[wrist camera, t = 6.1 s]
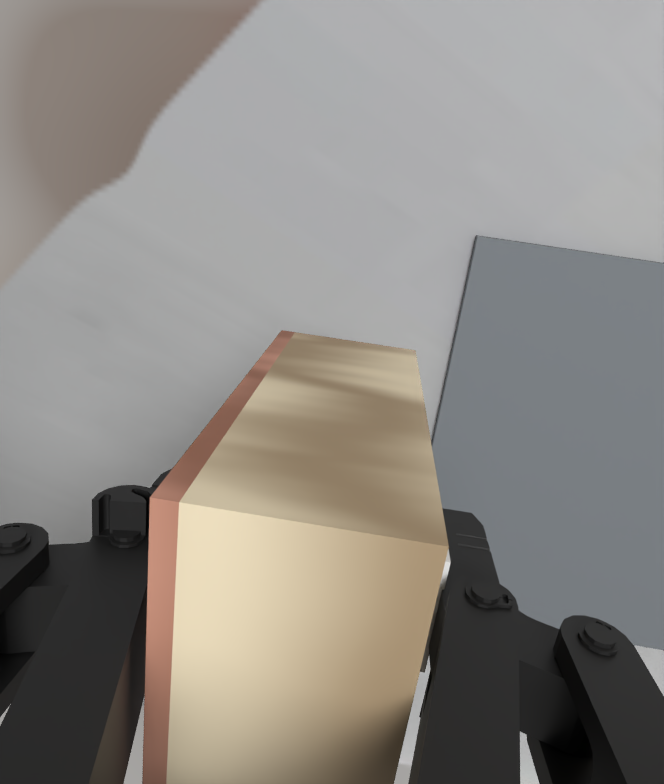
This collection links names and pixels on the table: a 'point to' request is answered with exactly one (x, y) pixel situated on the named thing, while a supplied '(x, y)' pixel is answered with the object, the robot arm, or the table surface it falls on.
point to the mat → (561, 430)
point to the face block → (294, 574)
